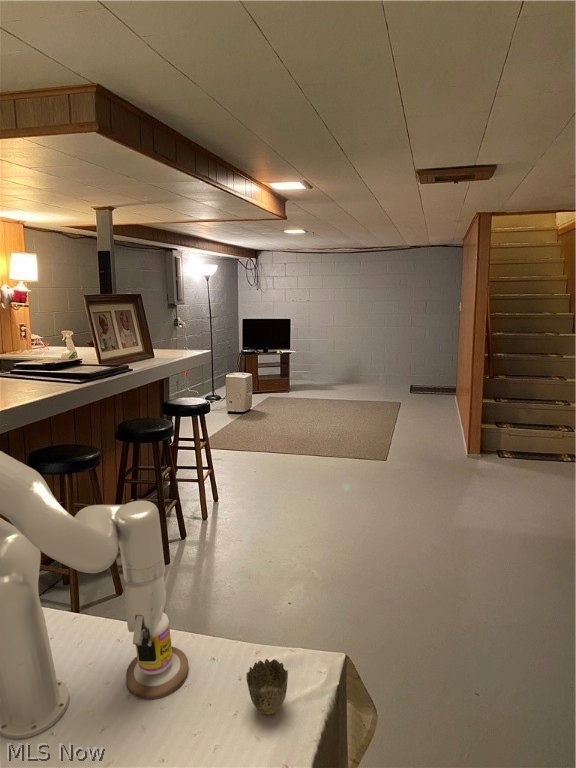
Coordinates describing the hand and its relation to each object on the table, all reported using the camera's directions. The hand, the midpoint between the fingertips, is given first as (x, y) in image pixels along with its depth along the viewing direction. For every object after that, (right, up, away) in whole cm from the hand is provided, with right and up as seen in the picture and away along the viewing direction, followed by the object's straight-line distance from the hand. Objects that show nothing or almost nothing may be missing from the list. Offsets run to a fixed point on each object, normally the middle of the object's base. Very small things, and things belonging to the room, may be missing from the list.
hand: (153, 645), depth 109 cm
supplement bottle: (0, -4, +1) cm, 4 cm away
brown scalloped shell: (+23, -9, -7) cm, 25 cm away
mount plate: (0, -7, +2) cm, 7 cm away
